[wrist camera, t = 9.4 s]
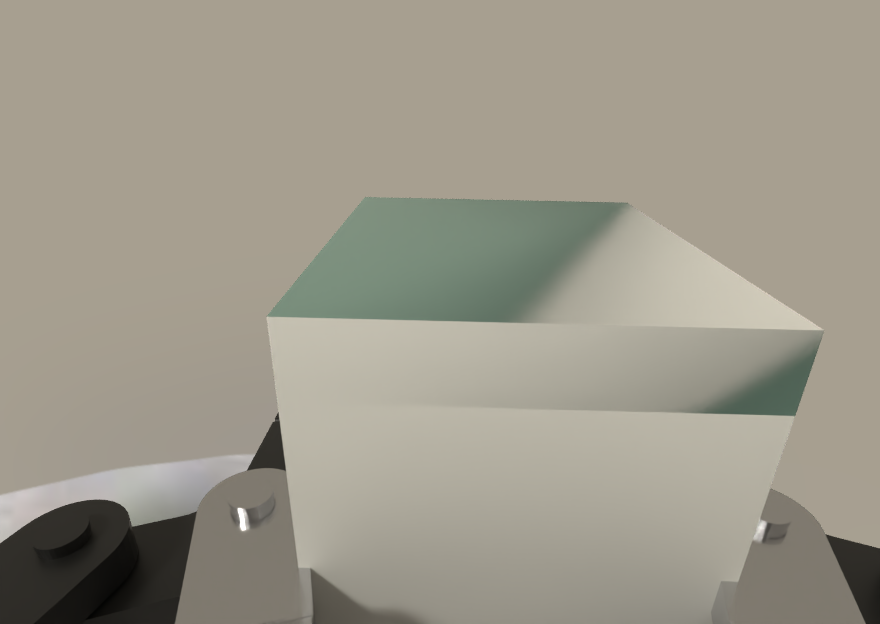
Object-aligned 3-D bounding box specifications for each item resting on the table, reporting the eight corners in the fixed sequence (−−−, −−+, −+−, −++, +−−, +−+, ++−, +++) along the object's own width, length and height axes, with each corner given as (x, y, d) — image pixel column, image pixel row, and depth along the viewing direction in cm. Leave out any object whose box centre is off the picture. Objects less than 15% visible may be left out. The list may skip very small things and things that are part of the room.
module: (341, 903, 8) (266, 317, 4) (381, 607, 13) (365, 197, 9) (623, 913, 8) (823, 331, 4) (561, 613, 13) (626, 202, 9)
